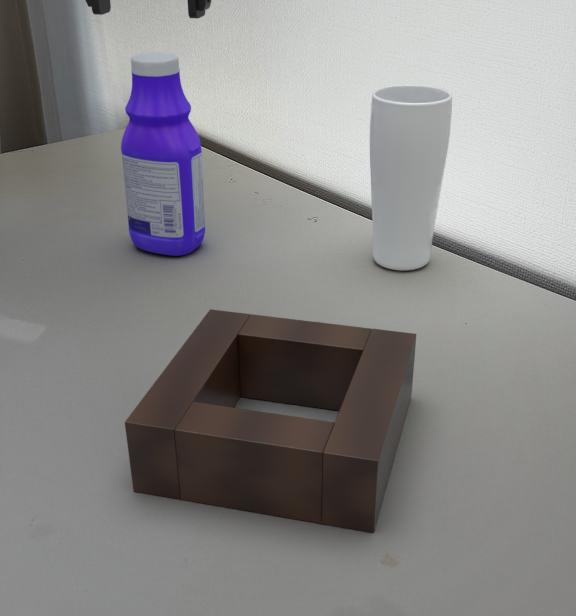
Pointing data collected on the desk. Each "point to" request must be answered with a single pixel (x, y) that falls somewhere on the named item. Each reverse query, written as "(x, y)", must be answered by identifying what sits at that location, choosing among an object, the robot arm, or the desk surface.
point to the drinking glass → (407, 171)
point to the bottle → (162, 160)
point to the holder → (276, 418)
